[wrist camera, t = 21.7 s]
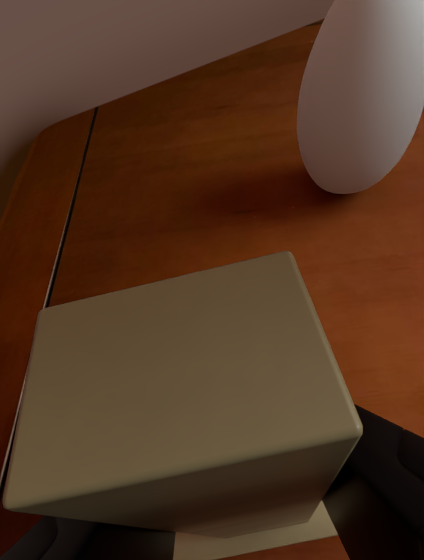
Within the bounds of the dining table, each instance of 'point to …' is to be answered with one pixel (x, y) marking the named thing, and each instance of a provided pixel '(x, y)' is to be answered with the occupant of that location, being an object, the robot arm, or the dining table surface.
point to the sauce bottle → (361, 92)
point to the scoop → (187, 411)
